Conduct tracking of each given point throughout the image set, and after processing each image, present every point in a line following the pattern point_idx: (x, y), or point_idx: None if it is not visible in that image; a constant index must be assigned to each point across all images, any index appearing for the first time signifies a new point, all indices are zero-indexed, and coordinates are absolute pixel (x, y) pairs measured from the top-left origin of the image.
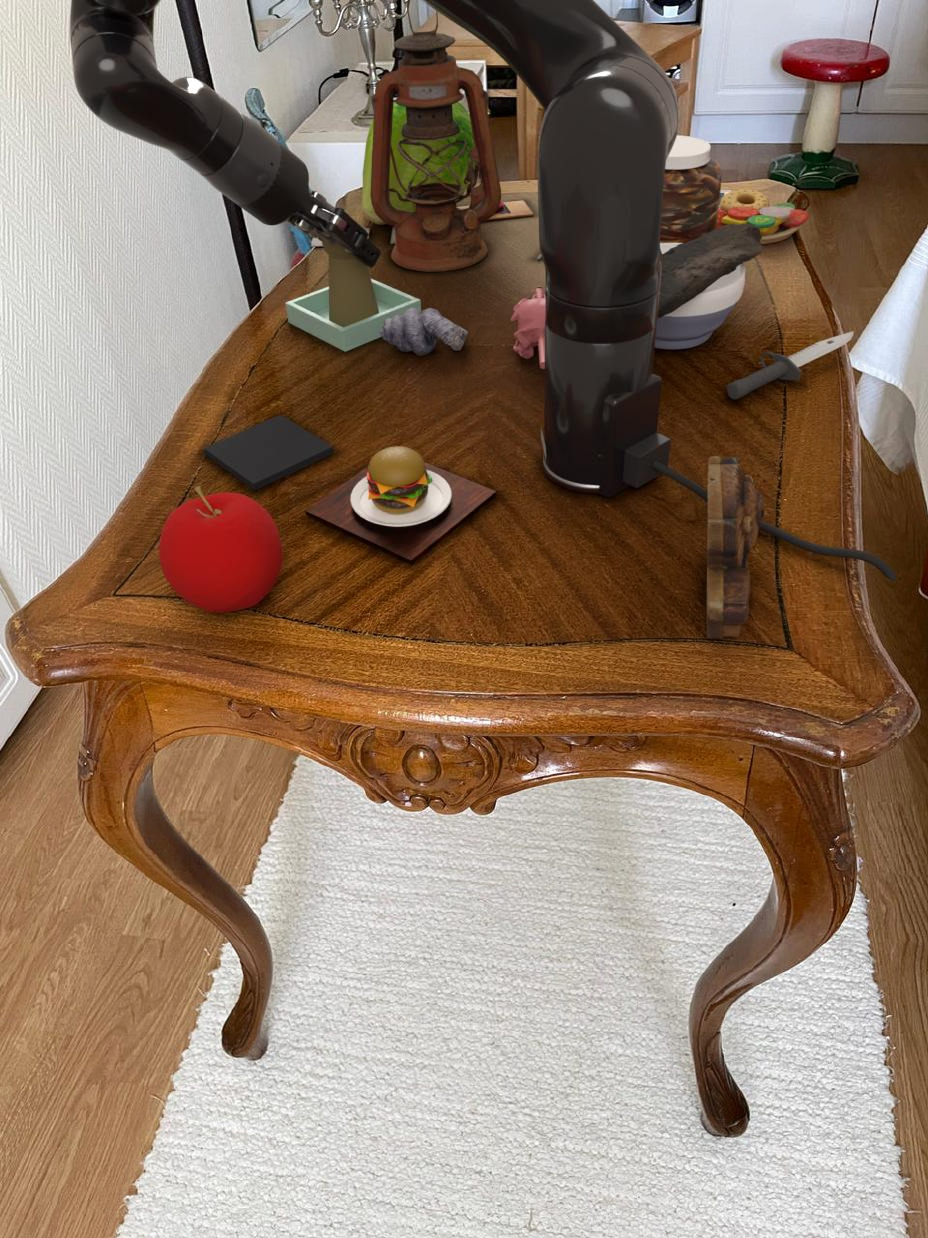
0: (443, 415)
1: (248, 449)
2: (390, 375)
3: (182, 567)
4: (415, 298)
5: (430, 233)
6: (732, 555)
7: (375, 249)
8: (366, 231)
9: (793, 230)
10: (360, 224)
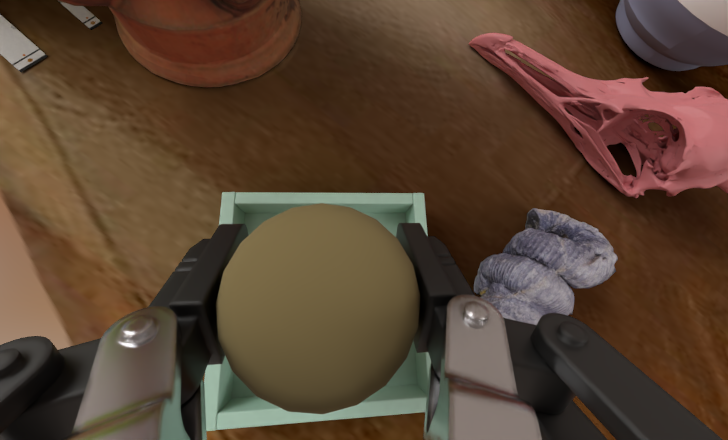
0: (714, 399)
1: None
2: None
3: None
4: (411, 195)
5: (245, 1)
6: None
7: (448, 253)
8: (574, 325)
9: None
10: (371, 232)
